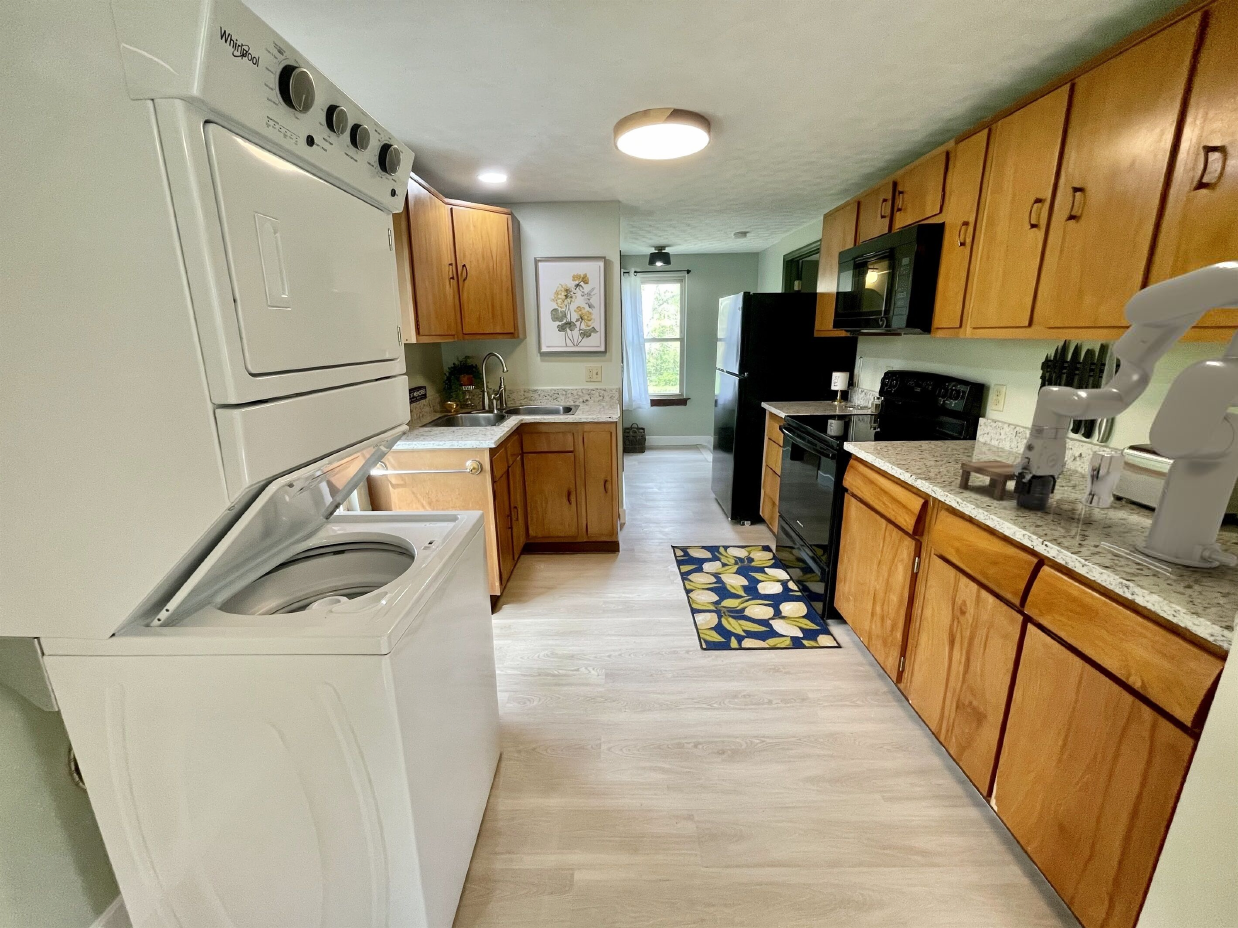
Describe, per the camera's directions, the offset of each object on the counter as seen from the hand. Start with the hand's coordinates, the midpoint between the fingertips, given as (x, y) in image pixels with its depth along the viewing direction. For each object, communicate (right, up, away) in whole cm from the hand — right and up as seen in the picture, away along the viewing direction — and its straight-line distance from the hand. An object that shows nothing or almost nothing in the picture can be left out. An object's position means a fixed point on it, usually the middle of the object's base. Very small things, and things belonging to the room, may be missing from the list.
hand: (1033, 493), depth 139 cm
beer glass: (+21, -4, +4) cm, 22 cm away
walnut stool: (0, -1, +14) cm, 14 cm away
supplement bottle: (0, -4, +1) cm, 4 cm away
